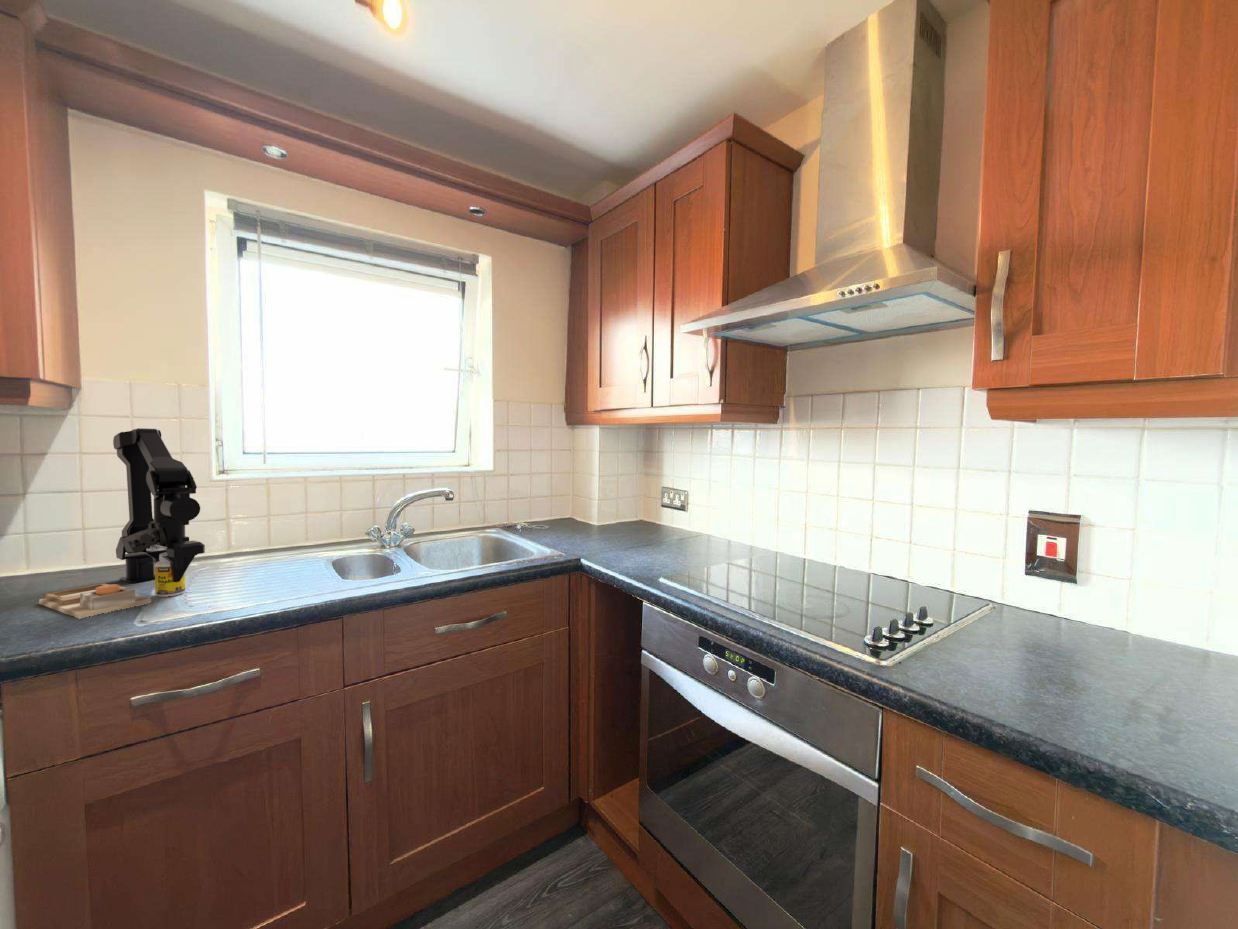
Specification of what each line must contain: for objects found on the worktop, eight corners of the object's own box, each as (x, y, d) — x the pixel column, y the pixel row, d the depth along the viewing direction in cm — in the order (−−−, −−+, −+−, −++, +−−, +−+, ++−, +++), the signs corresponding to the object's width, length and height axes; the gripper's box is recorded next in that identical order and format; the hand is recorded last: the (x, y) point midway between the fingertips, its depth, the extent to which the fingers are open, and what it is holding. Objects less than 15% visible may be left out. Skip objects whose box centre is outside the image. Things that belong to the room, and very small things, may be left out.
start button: (92, 596, 113) (92, 587, 113) (115, 592, 117) (114, 583, 117) (100, 599, 112) (100, 590, 112) (123, 594, 115) (123, 585, 115)
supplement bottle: (152, 599, 121) (152, 556, 120) (157, 593, 125) (157, 552, 125) (183, 595, 124) (183, 554, 123) (187, 589, 129) (186, 550, 128)
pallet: (39, 603, 116) (38, 588, 115) (109, 590, 126) (108, 576, 126) (79, 618, 107) (79, 602, 107) (150, 603, 118) (150, 587, 118)
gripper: (107, 517, 120) (108, 582, 121) (147, 525, 113) (148, 594, 113) (164, 512, 131) (165, 572, 131) (205, 519, 123) (206, 582, 123)
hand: (170, 580), depth 125 cm, fingers closed on supplement bottle, 5 cm apart
